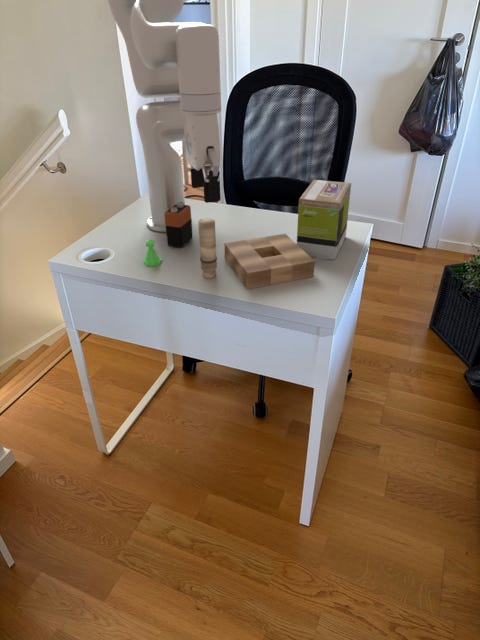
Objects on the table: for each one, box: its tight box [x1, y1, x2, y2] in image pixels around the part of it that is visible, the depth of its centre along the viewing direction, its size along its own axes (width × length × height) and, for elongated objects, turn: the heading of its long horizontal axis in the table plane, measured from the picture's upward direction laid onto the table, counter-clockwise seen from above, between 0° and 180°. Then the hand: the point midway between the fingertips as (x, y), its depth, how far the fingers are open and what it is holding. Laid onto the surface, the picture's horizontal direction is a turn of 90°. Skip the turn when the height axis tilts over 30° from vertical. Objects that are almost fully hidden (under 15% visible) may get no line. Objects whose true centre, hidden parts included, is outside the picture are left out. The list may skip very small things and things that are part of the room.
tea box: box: [296, 179, 352, 261], centre depth 115 cm, size 15×10×15 cm, turn 159°
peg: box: [197, 217, 218, 279], centre depth 103 cm, size 4×4×13 cm
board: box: [223, 233, 316, 290], centre depth 108 cm, size 16×16×4 cm
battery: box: [164, 202, 193, 249], centre depth 118 cm, size 4×7×10 cm, turn 160°
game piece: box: [142, 239, 162, 267], centre depth 110 cm, size 4×4×6 cm
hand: (205, 193), depth 95 cm, fingers open, 9 cm apart
